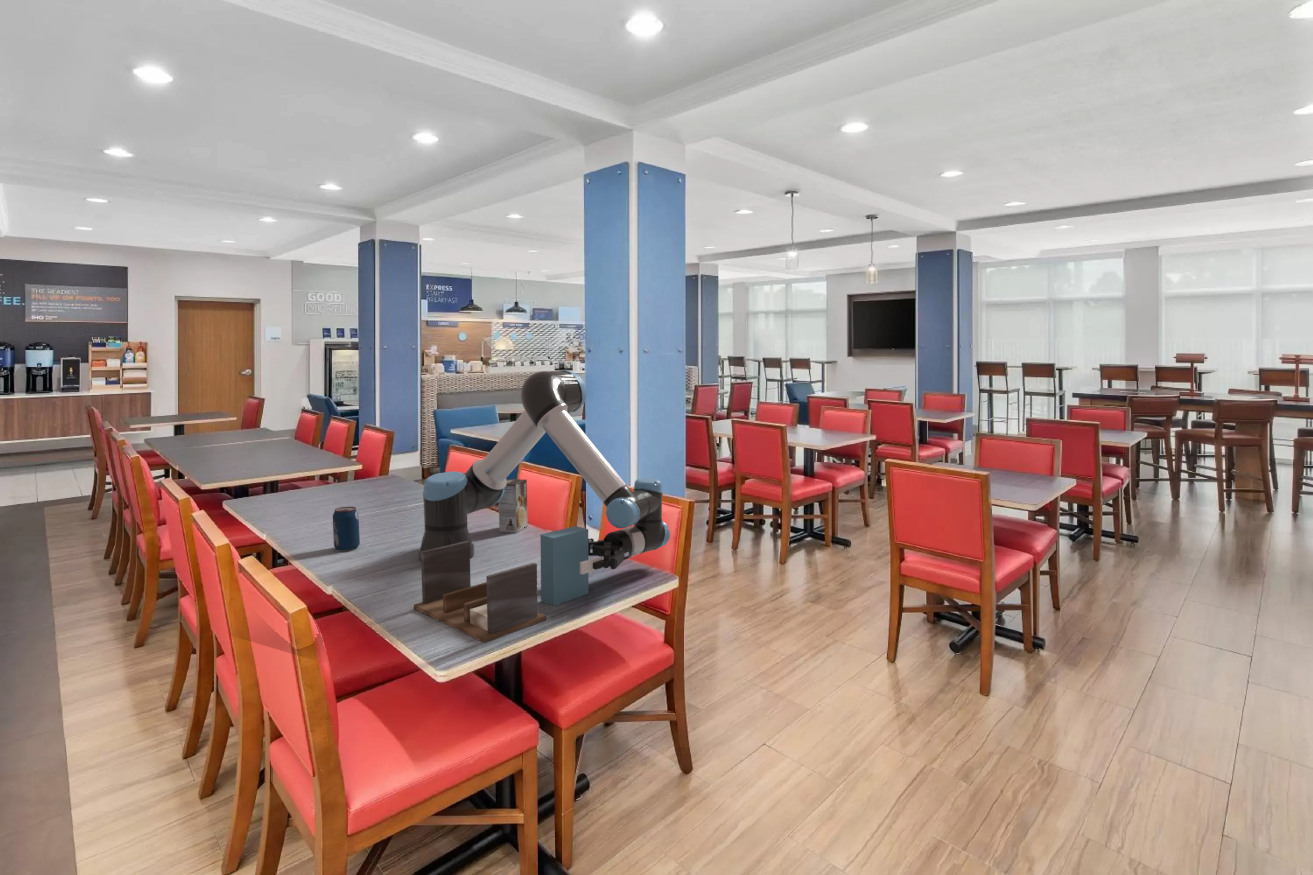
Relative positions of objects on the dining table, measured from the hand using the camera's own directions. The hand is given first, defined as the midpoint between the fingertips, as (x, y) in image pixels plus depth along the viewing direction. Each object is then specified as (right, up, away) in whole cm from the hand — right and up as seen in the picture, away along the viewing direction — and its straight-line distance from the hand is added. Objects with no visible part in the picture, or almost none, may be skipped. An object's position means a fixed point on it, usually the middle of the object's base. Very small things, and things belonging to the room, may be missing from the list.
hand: (561, 562), depth 161 cm
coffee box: (-25, -1, +64) cm, 69 cm away
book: (+1, -9, +2) cm, 9 cm away
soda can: (-69, -4, +40) cm, 80 cm away
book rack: (-17, -10, -9) cm, 22 cm away
